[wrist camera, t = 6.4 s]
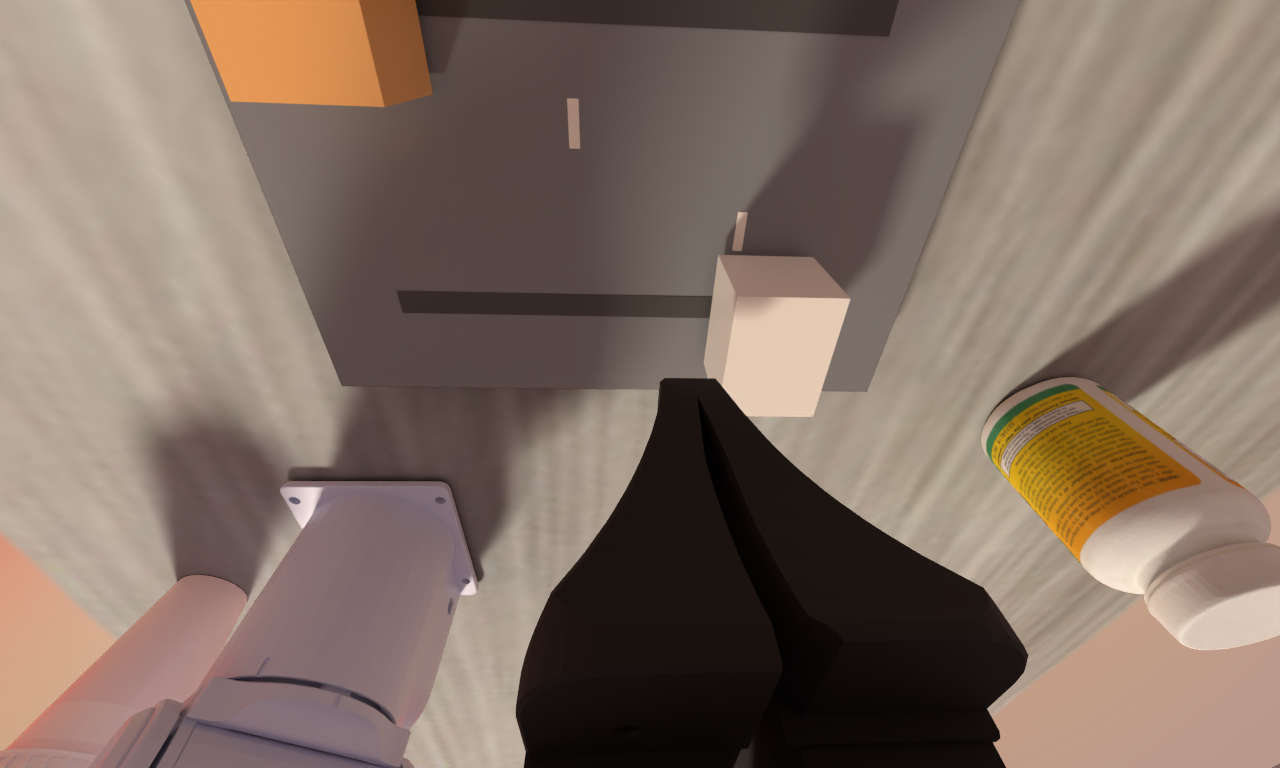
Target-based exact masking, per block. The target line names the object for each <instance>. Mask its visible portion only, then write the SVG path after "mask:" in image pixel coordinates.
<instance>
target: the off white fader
mask: <svg viewBox="0 0 1280 768" xmlns="http://www.w3.org/2000/svg"><path fill="white" fill-rule="evenodd" d="M850 299H851V298H850V297H849V296H848V295H847V294H846V293H845V292H844V291H843V290H842V288H841V287H840V286H839V285H838V284H837V283H836V282H835V281H834V280H833V279H832V277H831V276H830V275H829V274H828V273H827V272H826V271H825V270H824V269H823V267H822V266H821V265H820V264H819V263H818V262H817V261H816V260H815V259H814V257H791V256H748V255H718V260H717V268H716V275H715V282H714V290H713V297H712V305H711V312H710V320H709V327H708V334H707V342H706V349H705V357H704V366H705V370H706V374H707V378H715V379H716V380H717V381H718V382H719V383H720V384H721V385H722V387H723V388H724V389H725V390H726V392H727V393H728V394H729V395H730V397H731V398H732V399H733V400H734V402H735V403H736V404H737V405H738V407H739V408H740V409H741V410H742V411H743V413H744V414H745V415H746V416H780V417H813V415H814V412H815V409H816V405H817V402H818V399H819V396H820V393H821V390H822V387H823V384H824V380H825V377H826V374H827V371H828V368H829V365H830V362H831V359H832V355H833V352H834V349H835V346H836V343H837V340H838V337H839V334H840V330H841V327H842V324H843V321H844V318H845V315H846V312H847V309H848V305H849V302H850Z"/></svg>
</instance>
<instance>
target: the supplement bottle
mask: <svg viewBox="0 0 1280 768" xmlns="http://www.w3.org/2000/svg"><path fill="white" fill-rule="evenodd" d="M981 443H982V447H983V450H984V452H985V453H986V455H987V456H988V458H989V459H990V460H991V461H992V462H993V464H994V465H995V466H996V467H997V469H998V470H999V471H1000V472H1001V473H1002V474H1003V475H1004V477H1005V478H1006V479H1007V480H1008V481H1009V482H1010V483H1011V485H1012V486H1013V487H1014V488H1015V489H1016V490H1017V491H1018V493H1019V494H1020V495H1021V496H1022V497H1023V498H1024V499H1025V500H1026V501H1027V503H1028V504H1029V505H1030V506H1031V507H1032V509H1033V510H1034V511H1035V512H1036V513H1037V514H1038V515H1039V516H1040V517H1041V518H1042V520H1043V521H1044V522H1045V523H1046V525H1047V526H1048V527H1049V528H1050V529H1051V530H1052V531H1053V532H1054V533H1055V535H1056V536H1057V537H1058V538H1059V539H1060V540H1061V542H1062V543H1063V544H1064V545H1065V546H1066V547H1067V549H1068V550H1069V551H1070V552H1071V554H1072V555H1073V556H1074V557H1075V558H1076V559H1077V560H1078V562H1079V563H1080V564H1081V565H1082V566H1083V567H1084V568H1085V569H1086V570H1087V571H1088V572H1089V573H1090V574H1091V575H1092V576H1093V577H1094V578H1096V579H1097V580H1098V581H1100V582H1102V583H1103V584H1105V585H1107V586H1109V587H1112V588H1114V589H1117V590H1120V591H1124V592H1129V593H1135V594H1145V595H1144V600H1145V602H1146V604H1147V605H1148V610H1149V612H1150V613H1151V614H1152V616H1154V617H1155V618H1156V619H1157V620H1158V621H1159V622H1160V623H1161V624H1162V625H1163V626H1164V627H1165V628H1166V629H1167V630H1168V631H1169V632H1170V633H1171V634H1172V635H1173V636H1174V637H1175V638H1176V639H1177V640H1178V641H1179V642H1180V643H1181V644H1183V645H1184V646H1186V647H1189V648H1192V649H1198V650H1219V649H1228V648H1234V647H1239V646H1244V645H1248V644H1252V643H1256V642H1260V641H1263V640H1267V639H1270V638H1273V637H1275V636H1278V635H1280V547H1279V546H1276V545H1274V544H1270V543H1266V542H1267V540H1268V537H1269V535H1270V531H1271V520H1270V516H1269V514H1268V512H1267V510H1266V508H1265V506H1264V505H1263V504H1262V503H1261V502H1260V500H1259V499H1258V498H1256V497H1255V496H1254V495H1253V494H1251V493H1250V492H1249V491H1247V490H1246V489H1245V488H1244V487H1242V486H1241V485H1240V484H1238V483H1237V482H1235V481H1234V480H1233V479H1231V478H1230V477H1228V476H1227V475H1225V474H1224V473H1223V472H1221V471H1220V470H1218V469H1217V468H1216V467H1214V466H1213V465H1212V464H1210V463H1209V462H1208V461H1206V460H1205V459H1203V458H1202V457H1201V456H1199V455H1198V454H1196V453H1195V452H1193V451H1192V450H1191V449H1190V448H1188V447H1187V446H1185V445H1184V444H1182V443H1181V442H1179V441H1178V440H1177V439H1175V438H1174V437H1172V436H1171V435H1170V434H1168V433H1167V432H1166V431H1164V430H1163V429H1161V428H1160V427H1159V426H1157V425H1156V424H1154V423H1153V422H1152V421H1150V420H1149V419H1148V418H1146V417H1145V416H1143V415H1142V414H1141V413H1140V412H1138V411H1137V410H1135V409H1134V408H1133V407H1131V406H1130V405H1128V404H1127V403H1125V402H1124V401H1123V400H1121V399H1120V398H1118V397H1117V396H1116V395H1114V394H1113V393H1111V392H1110V391H1108V390H1107V389H1105V388H1104V387H1102V386H1101V385H1099V384H1097V383H1095V382H1093V381H1091V380H1088V379H1084V378H1078V377H1061V378H1055V379H1050V380H1046V381H1043V382H1040V383H1037V384H1035V385H1033V386H1031V387H1028V388H1026V389H1023V390H1021V391H1019V392H1017V393H1015V394H1014V395H1012V396H1011V397H1009V398H1008V399H1006V400H1005V401H1004V402H1002V403H1001V404H1000V405H999V406H998V407H997V408H996V409H995V410H994V411H993V412H992V414H991V415H990V416H989V418H988V420H987V421H986V423H985V425H984V428H983V431H982V436H981Z"/></svg>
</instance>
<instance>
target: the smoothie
mask: <svg viewBox="0 0 1280 768" xmlns="http://www.w3.org/2000/svg"><path fill="white" fill-rule="evenodd" d="M246 603H247V595H246V594H245V592H244V591H243V590H242V589H241V588H239V587H238V586H236V585H235V584H233V583H231V582H229V581H226V580H223V579H220V578H217V577H212V576H206V575H191V576H186V577H183V578H181V579H180V580H179V581H178V582H177V583H176V584H175V585H174V586H173V587H172V588H171V589H170V590H169V591H168V592H167V593H166V594H165V595H164V596H162V597H161V598H160V599H159V600H158V601H157V602H156V603H155V604H154V605H153V606H152V607H151V608H150V609H149V610H148V611H147V612H146V613H145V614H144V615H143V616H142V617H141V618H140V619H139V620H138V621H137V622H136V623H135V624H134V625H133V626H132V627H131V628H130V629H129V630H128V631H126V632H125V633H124V634H123V635H122V636H121V637H120V638H119V639H118V640H117V641H116V642H115V643H114V644H113V645H112V646H111V647H110V648H109V649H108V650H107V651H106V652H105V653H104V654H103V655H102V656H101V657H100V658H99V659H98V660H97V661H96V662H95V663H94V664H93V665H92V666H90V667H89V668H88V669H87V671H85V672H84V673H83V674H82V675H81V676H80V677H79V678H78V679H77V680H76V681H75V682H74V683H73V684H72V685H71V686H70V687H69V688H68V689H67V690H66V691H65V692H64V693H63V694H62V695H61V696H60V697H59V698H58V699H57V700H56V701H55V702H53V703H52V705H50V706H49V707H48V708H47V709H46V710H45V711H44V712H43V713H42V714H41V715H40V716H39V717H38V718H37V719H36V720H35V721H34V722H33V723H32V724H31V725H30V726H29V727H28V728H27V729H26V730H25V731H24V732H23V733H22V734H21V735H20V736H19V737H18V738H17V739H16V740H15V741H14V742H13V743H12V744H11V745H9V746H8V747H7V748H6V749H5V750H3V751H0V768H88V766H89V765H90V764H91V762H92V761H93V760H94V759H95V757H96V756H97V755H98V754H99V752H100V751H101V750H102V749H103V747H104V746H105V745H106V744H107V743H108V741H109V740H110V739H111V738H112V736H113V735H114V734H115V733H116V732H117V730H118V729H119V728H120V727H121V726H122V725H123V724H124V723H125V721H126V720H127V719H128V718H129V717H131V716H132V715H134V714H136V713H138V712H140V711H143V710H145V709H147V708H150V707H154V706H155V705H156V704H157V703H158V702H159V701H161V700H163V699H172V700H175V701H177V702H180V703H183V702H184V701H185V700H186V699H187V698H188V697H190V696H191V695H192V694H193V693H194V692H195V691H196V690H197V688H198V687H199V685H200V684H201V682H202V680H203V679H204V677H205V676H206V674H207V673H208V671H209V670H210V668H211V667H212V665H213V664H214V662H215V661H216V659H217V658H218V656H219V655H220V653H221V651H222V649H223V647H224V645H225V643H226V641H227V639H228V637H229V635H230V634H231V632H232V630H233V628H234V626H235V624H236V622H237V620H238V618H239V616H240V614H241V612H242V610H243V608H244V606H245V605H246Z"/></svg>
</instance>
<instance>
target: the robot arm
mask: <svg viewBox="0 0 1280 768" xmlns="http://www.w3.org/2000/svg"><path fill="white" fill-rule="evenodd" d="M280 493H281V494H282V496H283V498H284V499H285V501H286V503H287V504H288V506H289V508H290V509H291V511H292V513H293V515H294V516H295V518H296V520H297V521H298V523H299V525H300V526H301V528H302V531H301V533H300V534H299V536H298V537H297V539H296V540H295V542H294V543H293V545H292V546H291V548H290V549H289V551H288V552H287V554H286V555H285V557H284V558H283V560H282V561H281V563H280V564H279V566H278V567H277V569H276V570H275V572H274V573H273V575H272V576H271V578H270V579H269V581H268V582H267V584H266V585H265V587H264V588H263V590H262V591H261V593H260V594H259V596H258V597H257V599H256V600H255V602H254V603H253V605H252V607H251V608H250V610H249V611H248V613H247V614H246V616H245V617H244V619H243V620H242V622H241V623H240V625H239V626H238V628H237V629H236V631H235V632H234V634H233V635H232V637H231V638H230V640H229V641H228V643H227V644H226V646H225V647H224V649H223V650H222V652H221V653H220V655H219V656H218V658H217V659H216V661H215V662H214V664H213V665H212V667H211V668H210V670H209V671H208V673H207V674H206V676H205V677H204V679H203V680H202V682H201V684H200V685H199V687H198V688H197V690H196V691H195V692H194V693H193V694H192V695H191V696H190V697H188V698H187V699H186V700H185V701H184V702H183V703H180V702H177V701H175V700H172V699H163V700H161V701H159V702H158V703H157V704H156V705H155V706H154V707H150V708H147V709H145V710H143V711H140V712H138V713H136V714H134V715H132V716H131V717H129V718H128V719H127V720H126V721H125V723H124V724H123V725H122V726H121V727H120V728H119V729H118V730H117V732H116V733H115V734H114V735H113V736H112V738H111V739H110V740H109V741H108V743H107V744H106V745H105V746H104V747H103V749H102V750H101V751H100V752H99V754H98V755H97V756H96V757H95V759H94V760H93V761H92V762H91V764H90V765H89V766H88V768H414V766H413V765H412V763H411V762H410V761H409V760H408V759H406V758H404V757H403V756H404V753H405V749H406V746H407V743H408V740H409V736H410V733H411V732H410V730H409V729H410V728H411V727H412V726H413V725H414V723H415V722H416V721H417V719H418V718H419V716H420V715H421V713H422V712H423V710H424V708H425V706H426V704H427V702H428V700H429V697H430V694H431V691H432V688H433V684H434V681H435V678H436V674H437V671H438V668H439V664H440V661H441V657H442V654H443V651H444V647H445V644H446V641H447V637H448V634H449V630H450V627H451V624H452V620H453V617H454V614H455V610H456V607H457V603H458V600H459V597H460V595H473V594H475V593H476V592H477V590H478V582H477V578H476V575H475V571H474V568H473V565H472V561H471V558H470V554H469V551H468V547H467V544H466V540H465V537H464V533H463V530H462V526H461V523H460V520H459V516H458V513H457V509H456V506H455V502H454V499H453V495H452V492H451V488H450V487H449V485H447V484H446V483H444V482H440V481H288V482H286V483H284V484H283V486H282V487H281V489H280ZM441 497H442V498H441ZM1027 658H1028V654H1027V652H1026V650H1025V648H1024V646H1023V644H1022V643H1021V641H1020V640H1019V638H1018V637H1017V635H1016V634H1015V632H1014V631H1013V629H1012V628H1011V626H1010V625H1009V623H1008V622H1007V620H1006V619H1005V617H1004V616H1003V614H1002V613H1001V611H1000V610H999V608H998V607H997V606H996V604H995V603H994V601H993V600H992V598H991V597H990V596H989V595H988V593H987V592H986V591H985V589H984V588H983V587H981V586H979V585H977V584H975V583H973V582H971V581H970V580H968V579H966V578H964V577H962V576H960V575H958V574H956V573H954V572H953V571H951V570H949V569H947V568H945V567H943V566H941V565H939V564H937V563H935V562H934V561H932V560H930V559H928V558H926V557H924V556H922V555H921V554H919V553H917V552H915V551H914V550H912V549H910V548H909V547H907V546H906V545H904V544H902V543H901V542H899V541H897V540H896V539H894V538H892V537H891V536H889V535H887V534H886V533H884V532H883V531H881V530H879V529H878V528H876V527H875V526H873V525H872V524H870V523H869V522H867V521H866V520H864V519H863V518H861V517H860V516H858V515H857V514H856V513H854V512H853V511H851V510H850V509H849V508H847V507H846V506H844V505H843V504H841V503H840V502H839V501H837V500H836V499H835V498H833V497H832V496H831V495H829V494H828V493H827V492H825V491H824V490H823V489H822V488H820V487H819V486H818V485H817V484H816V483H814V482H813V481H812V480H811V479H810V478H808V477H807V476H806V475H805V474H803V473H802V472H801V471H800V470H799V469H798V468H797V467H795V466H794V465H793V464H792V463H791V462H790V461H789V460H788V459H787V458H786V457H785V456H784V455H783V454H782V453H781V452H779V451H778V450H777V449H776V448H775V447H774V446H773V445H772V444H771V442H770V441H769V440H768V439H767V438H766V437H765V436H764V435H763V434H762V433H761V432H760V431H759V430H758V428H757V427H756V426H755V425H754V424H753V423H752V422H751V421H750V420H749V418H748V417H747V416H746V415H745V414H744V413H743V411H742V410H741V409H740V408H739V407H738V405H737V404H736V403H735V402H734V400H733V399H732V398H731V397H730V395H729V394H728V393H727V392H726V390H725V389H724V388H723V387H722V385H721V384H720V383H719V382H718V381H717V380H716V379H715V378H664V379H663V380H661V381H660V385H659V399H658V412H657V416H656V419H655V423H654V426H653V430H652V433H651V436H650V438H649V441H648V443H647V446H646V448H645V451H644V454H643V456H642V458H641V461H640V463H639V465H638V467H637V469H636V471H635V473H634V476H633V477H632V479H631V481H630V483H629V485H628V487H627V489H626V491H625V492H624V494H623V496H622V498H621V499H620V501H619V503H618V504H617V506H616V508H615V509H614V511H613V513H612V514H611V516H610V517H609V519H608V520H607V522H606V523H605V525H604V526H603V528H602V529H601V530H600V532H599V533H598V535H597V536H596V537H595V539H594V540H593V542H592V543H591V544H590V546H589V547H588V549H587V550H586V551H585V553H584V554H583V555H582V556H581V558H580V559H579V560H578V561H577V563H576V564H575V565H574V566H573V567H572V568H571V570H570V571H569V572H568V573H567V574H566V576H565V577H564V578H563V579H562V580H561V582H560V583H559V584H558V585H557V586H556V587H555V589H554V590H553V591H552V592H551V594H550V597H549V599H548V601H547V603H546V605H545V607H544V610H543V612H542V614H541V616H540V618H539V621H538V623H537V626H536V628H535V630H534V633H533V635H532V638H531V641H530V643H529V646H528V649H527V652H526V656H525V659H524V663H523V667H522V671H521V677H520V683H519V690H518V697H517V704H516V718H517V722H518V725H519V729H520V732H521V736H522V739H523V743H524V746H525V750H526V755H525V763H524V768H1006V767H1005V765H1004V763H1003V761H1002V759H1001V757H1000V755H999V753H998V752H997V750H996V748H995V746H994V744H993V742H996V741H997V740H999V739H1000V732H999V730H998V728H997V726H996V724H995V723H994V721H993V719H992V717H991V715H990V714H989V712H988V710H987V708H988V707H989V706H990V705H991V704H992V703H994V702H995V701H996V700H997V699H998V698H999V697H1000V696H1001V695H1002V694H1003V693H1004V692H1006V691H1007V690H1008V689H1009V688H1010V687H1011V686H1012V685H1013V684H1014V683H1015V682H1016V681H1017V680H1018V679H1019V677H1020V676H1021V675H1022V674H1023V673H1024V670H1025V667H1026V663H1027ZM1272 768H1280V764H1278V765H1276V766H1274V767H1272Z"/></svg>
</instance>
